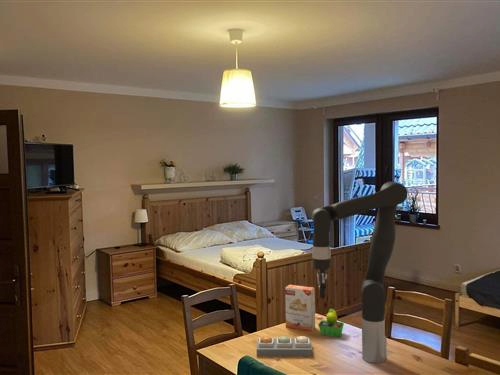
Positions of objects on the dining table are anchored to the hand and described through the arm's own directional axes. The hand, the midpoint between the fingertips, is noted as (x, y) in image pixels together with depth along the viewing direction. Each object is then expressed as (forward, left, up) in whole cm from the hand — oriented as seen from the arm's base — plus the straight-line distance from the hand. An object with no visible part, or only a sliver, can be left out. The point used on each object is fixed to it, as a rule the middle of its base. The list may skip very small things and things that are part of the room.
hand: (322, 297), depth 184 cm
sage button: (+9, -17, -23) cm, 30 cm away
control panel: (+9, -17, -27) cm, 33 cm away
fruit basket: (-21, -23, -27) cm, 41 cm away
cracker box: (-12, -37, -27) cm, 47 cm away
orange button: (+16, -21, -23) cm, 35 cm away
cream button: (+2, -13, -23) cm, 27 cm away
